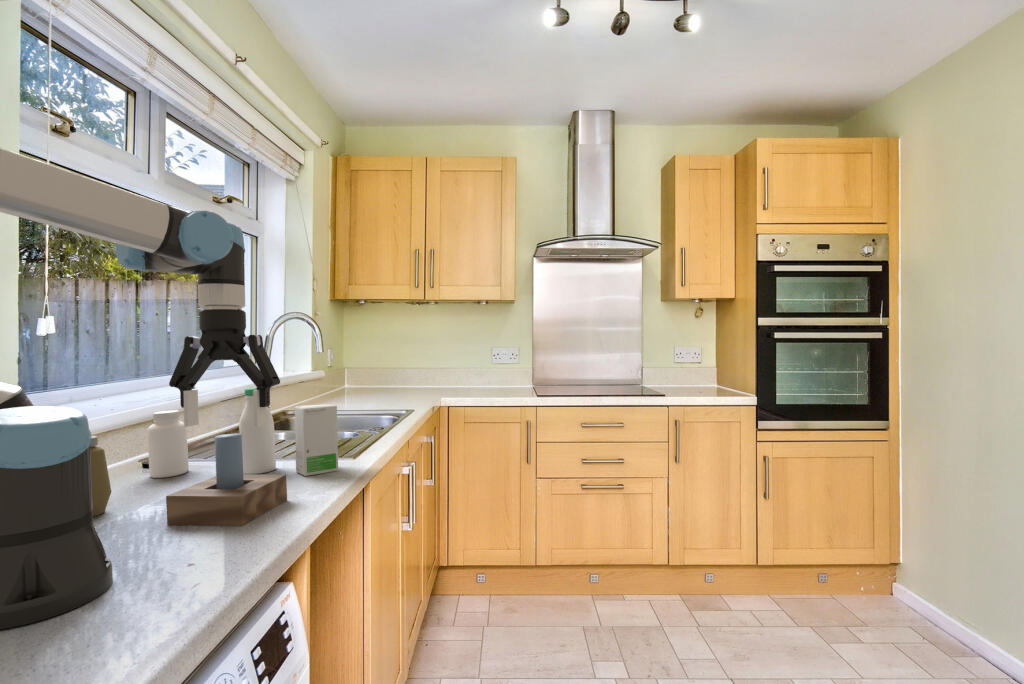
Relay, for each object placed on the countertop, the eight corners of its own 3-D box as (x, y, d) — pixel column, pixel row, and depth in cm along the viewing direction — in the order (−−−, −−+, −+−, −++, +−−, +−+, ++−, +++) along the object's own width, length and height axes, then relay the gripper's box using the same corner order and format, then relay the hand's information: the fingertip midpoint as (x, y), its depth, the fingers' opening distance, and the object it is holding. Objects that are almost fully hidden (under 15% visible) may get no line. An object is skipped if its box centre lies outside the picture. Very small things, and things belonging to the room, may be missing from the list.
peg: (234, 516, 97) (231, 438, 97) (212, 515, 97) (209, 438, 97) (249, 508, 101) (246, 433, 101) (228, 507, 102) (225, 433, 101)
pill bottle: (155, 472, 132) (152, 410, 132) (192, 468, 134) (190, 408, 134) (144, 480, 124) (141, 415, 124) (183, 476, 127) (181, 412, 127)
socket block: (242, 525, 91) (241, 496, 91) (167, 524, 93) (166, 495, 93) (287, 500, 105) (286, 474, 105) (220, 499, 107) (219, 474, 107)
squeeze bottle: (81, 524, 95) (77, 422, 95) (44, 522, 97) (39, 421, 96) (123, 509, 103) (119, 414, 103) (88, 507, 104) (84, 414, 104)
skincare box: (304, 477, 123) (301, 408, 122) (294, 472, 128) (292, 406, 127) (340, 470, 128) (337, 404, 128) (329, 465, 133) (327, 402, 133)
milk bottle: (282, 469, 131) (279, 386, 131) (252, 476, 124) (249, 390, 124) (263, 465, 135) (260, 385, 135) (233, 473, 128) (230, 389, 128)
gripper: (297, 308, 101) (300, 422, 101) (175, 312, 104) (178, 422, 104) (275, 305, 93) (278, 428, 93) (144, 310, 96) (147, 428, 97)
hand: (225, 425), depth 99 cm, fingers open, 13 cm apart
